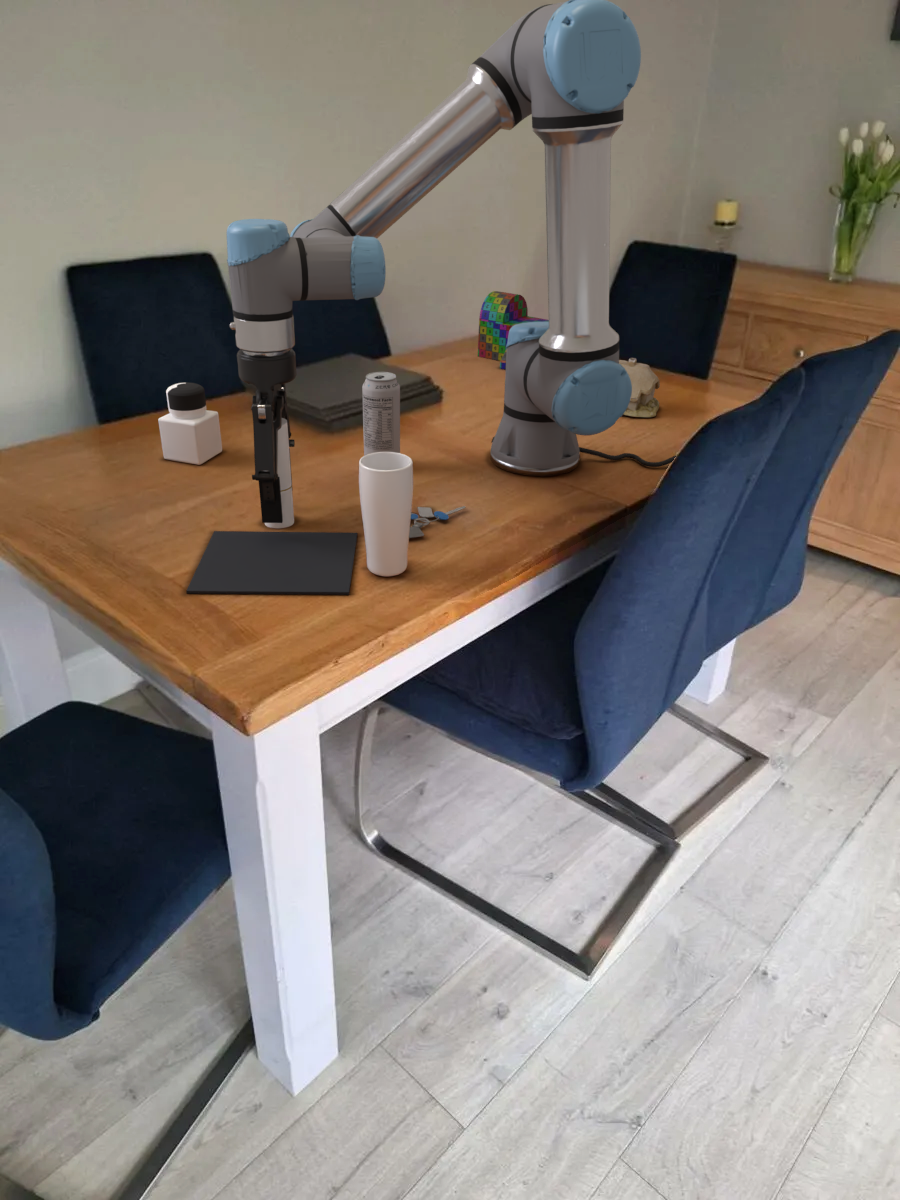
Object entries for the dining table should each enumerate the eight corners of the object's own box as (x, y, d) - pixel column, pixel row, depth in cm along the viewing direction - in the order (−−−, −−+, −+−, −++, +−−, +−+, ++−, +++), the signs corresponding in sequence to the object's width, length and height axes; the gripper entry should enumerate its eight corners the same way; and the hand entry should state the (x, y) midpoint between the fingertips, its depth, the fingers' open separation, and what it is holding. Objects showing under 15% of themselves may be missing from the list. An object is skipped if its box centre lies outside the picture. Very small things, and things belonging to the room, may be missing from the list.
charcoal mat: (357, 535, 123) (357, 532, 123) (349, 595, 109) (349, 592, 109) (214, 533, 123) (214, 530, 122) (186, 593, 108) (186, 590, 108)
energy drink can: (406, 462, 148) (406, 374, 141) (389, 473, 143) (388, 383, 136) (375, 455, 150) (373, 368, 143) (357, 467, 146) (355, 377, 138)
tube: (297, 516, 128) (290, 417, 121) (290, 529, 124) (282, 427, 117) (268, 515, 128) (260, 415, 121) (260, 527, 125) (251, 425, 117)
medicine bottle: (223, 451, 150) (215, 382, 144) (200, 465, 144) (191, 394, 138) (187, 445, 152) (178, 377, 146) (163, 459, 146) (152, 388, 140)
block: (465, 361, 205) (467, 298, 198) (503, 347, 217) (506, 287, 210) (559, 380, 193) (564, 314, 186) (593, 364, 205) (600, 302, 198)
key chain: (414, 544, 121) (414, 539, 121) (366, 529, 125) (366, 524, 124) (466, 510, 131) (466, 505, 131) (420, 497, 135) (420, 492, 135)
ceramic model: (668, 407, 178) (676, 358, 173) (648, 422, 170) (655, 370, 165) (604, 395, 185) (610, 347, 180) (582, 408, 176) (587, 358, 171)
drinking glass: (361, 557, 118) (358, 451, 110) (411, 556, 118) (412, 450, 111) (361, 581, 112) (358, 471, 104) (414, 580, 112) (414, 470, 105)
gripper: (251, 328, 124) (263, 475, 135) (219, 372, 104) (237, 540, 115) (304, 329, 124) (312, 476, 135) (283, 373, 104) (294, 541, 115)
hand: (278, 505), depth 125 cm, fingers open, 10 cm apart
